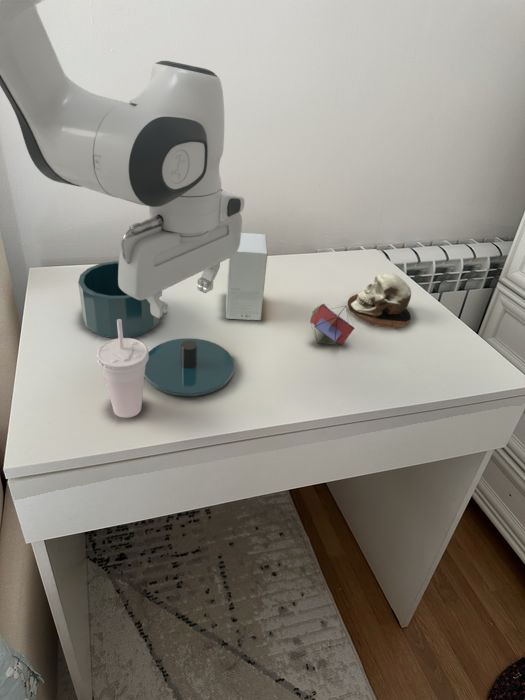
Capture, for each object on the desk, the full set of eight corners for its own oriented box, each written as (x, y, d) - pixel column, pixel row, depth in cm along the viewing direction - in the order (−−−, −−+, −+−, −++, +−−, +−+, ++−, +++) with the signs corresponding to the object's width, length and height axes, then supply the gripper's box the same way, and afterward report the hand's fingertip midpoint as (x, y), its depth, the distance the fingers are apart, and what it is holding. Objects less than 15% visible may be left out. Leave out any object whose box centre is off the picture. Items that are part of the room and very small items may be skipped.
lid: (190, 412, 73) (191, 386, 71) (123, 371, 80) (121, 345, 77) (251, 368, 83) (253, 343, 80) (186, 334, 89) (187, 310, 86)
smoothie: (143, 389, 77) (139, 305, 69) (157, 417, 72) (153, 331, 64) (98, 399, 74) (87, 313, 66) (109, 429, 70) (99, 341, 61)
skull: (356, 326, 93) (354, 268, 94) (342, 334, 103) (341, 282, 105) (422, 326, 94) (420, 270, 95) (402, 335, 104) (400, 283, 106)
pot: (118, 347, 84) (115, 307, 80) (68, 317, 90) (62, 278, 86) (175, 317, 93) (174, 278, 88) (125, 291, 98) (122, 254, 94)
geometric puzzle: (366, 330, 91) (346, 289, 88) (353, 350, 85) (332, 306, 83) (331, 340, 95) (311, 301, 93) (316, 359, 90) (295, 319, 88)
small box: (261, 321, 94) (268, 253, 87) (225, 319, 94) (228, 251, 86) (260, 298, 101) (266, 233, 93) (226, 296, 100) (229, 231, 93)
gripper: (141, 237, 58) (144, 341, 66) (252, 196, 73) (244, 285, 81) (102, 220, 61) (109, 322, 69) (216, 183, 75) (212, 271, 83)
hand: (183, 302), depth 75 cm, fingers open, 8 cm apart
